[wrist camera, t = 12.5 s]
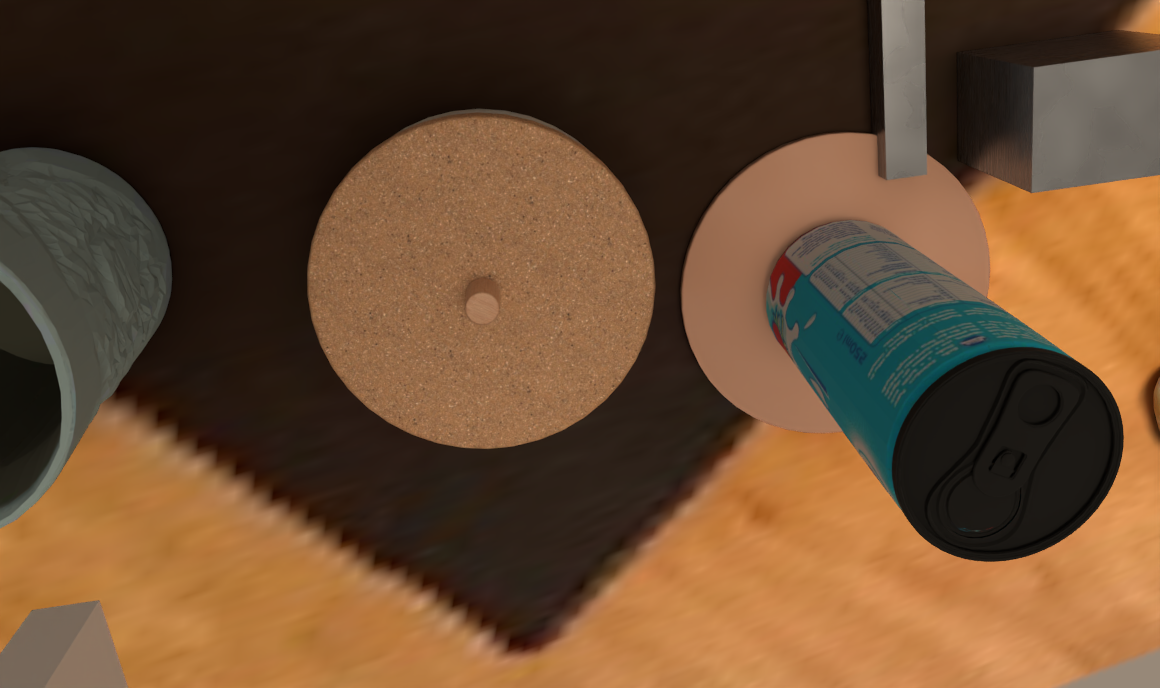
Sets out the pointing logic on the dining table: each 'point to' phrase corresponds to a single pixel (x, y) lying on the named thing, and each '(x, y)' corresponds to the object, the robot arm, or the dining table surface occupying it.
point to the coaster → (772, 223)
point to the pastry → (1157, 402)
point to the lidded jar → (481, 280)
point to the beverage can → (945, 393)
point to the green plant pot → (67, 307)
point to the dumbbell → (1021, 104)
